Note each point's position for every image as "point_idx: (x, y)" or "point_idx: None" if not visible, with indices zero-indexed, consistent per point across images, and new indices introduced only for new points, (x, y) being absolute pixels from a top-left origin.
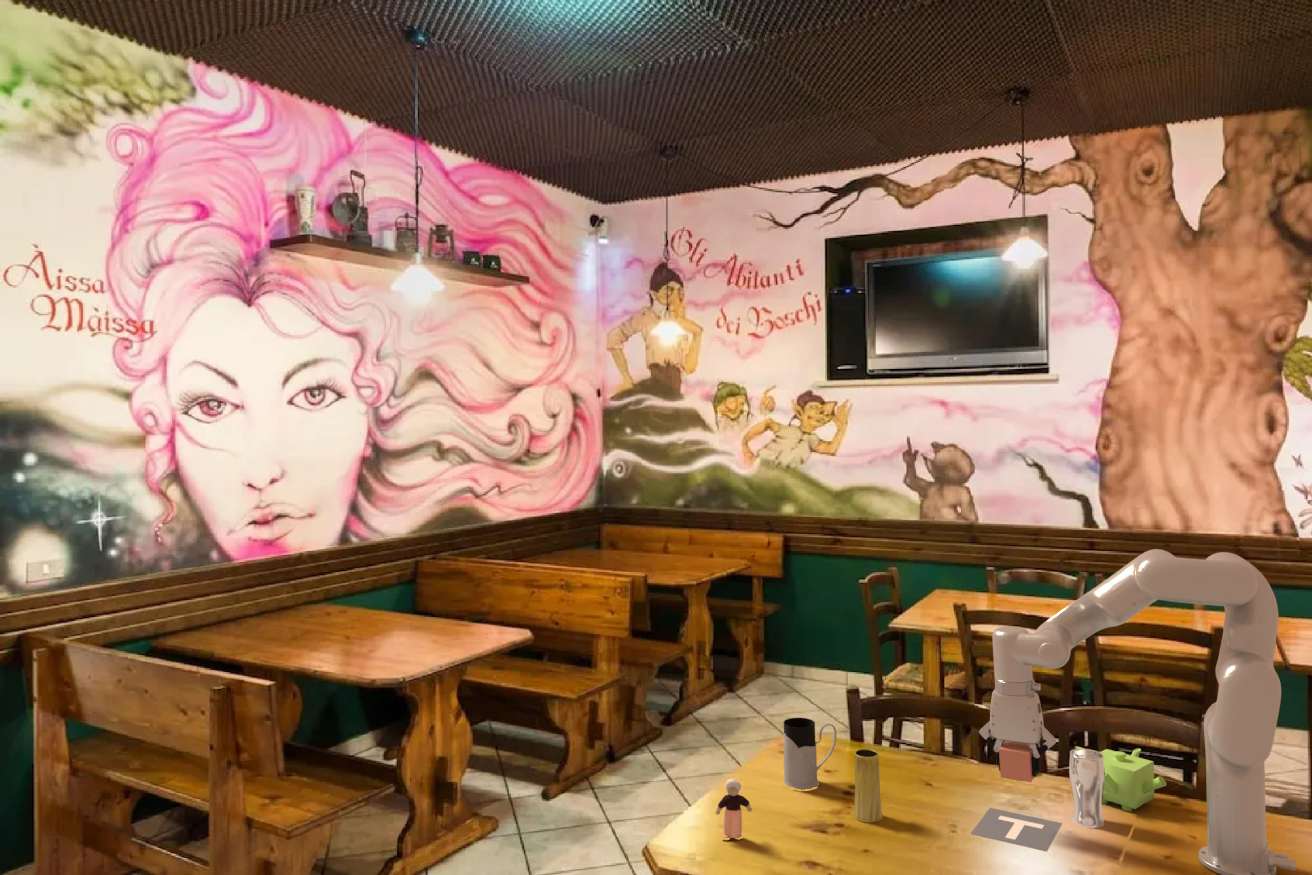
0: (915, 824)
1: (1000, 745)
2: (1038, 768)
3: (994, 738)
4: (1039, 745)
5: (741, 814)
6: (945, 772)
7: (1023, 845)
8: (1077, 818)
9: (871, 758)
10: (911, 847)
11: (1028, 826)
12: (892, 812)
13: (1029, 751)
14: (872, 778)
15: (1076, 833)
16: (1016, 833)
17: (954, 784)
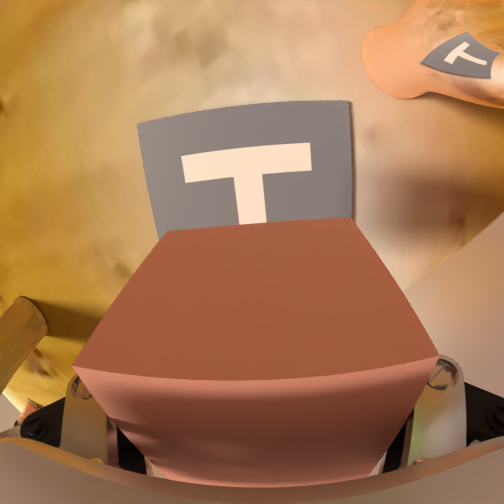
0: (80, 305)
1: (148, 468)
2: None
3: (57, 443)
4: (460, 421)
5: (24, 418)
6: (6, 29)
7: None
8: (389, 85)
9: None
10: None
11: (274, 177)
12: (32, 281)
13: (367, 469)
14: (8, 380)
15: (388, 137)
16: None
17: (29, 60)
